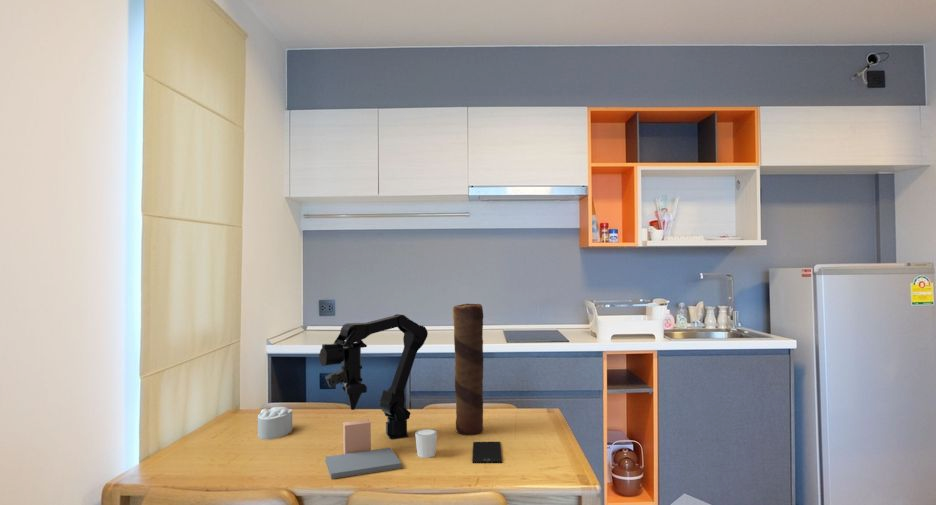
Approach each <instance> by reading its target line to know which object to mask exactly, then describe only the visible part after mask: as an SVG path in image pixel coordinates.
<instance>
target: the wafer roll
mask: <svg viewBox="0 0 936 505" xmlns="http://www.w3.org/2000/svg"><path fill="white" fill-rule="evenodd" d="M452 320H453V337H454V338H453V340H454V341H453V342H454V354H455V355H454V363H455V365H454V392H455V395H454V396H455V406H456V408H455V412H456V413H455V414H456V415H455V416H456V418H455V430H456V432H458V433H459V434H462V435H469V436H470V435H471V436H472V435H477V434H481V433H483V432H484V399H483V398H484V393H483V392H484V389H483V388H484V386H483V385H484V384H483V383H484V382H483V380H484V339H483V335H484V333H483V328H484V310H483V305H482V304H480V303H464V304H457V305H453V308H452Z"/></svg>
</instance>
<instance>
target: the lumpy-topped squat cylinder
mask: <svg viewBox="0 0 936 505" xmlns="http://www.w3.org/2000/svg"><path fill="white" fill-rule="evenodd" d="M292 431H293V409H291V408H288V407H286V406H273V407H271V408H270V409H268V408H263V409H262V410H260V413H259V414H258V415H257V438H258V439H259V440H264V441H266V440H273V439H274V440H275V439H280V438H282V437H285V436H287V435H289V434H290V433H291V432H292ZM289 432H290V433H289ZM288 433H289V434H288Z"/></svg>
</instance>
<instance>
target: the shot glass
mask: <svg viewBox="0 0 936 505" xmlns="http://www.w3.org/2000/svg"><path fill="white" fill-rule="evenodd" d="M414 433H415V434H414V436H415V444H416V454H417V456H418V458H423V459H427V458H432V457H435V456H436V453H437V439H438V438H437V436H438V431H437V430H435V429H430V428H429V429H428V428H425V429H423V428H422V429H419V430H417V431H415V432H414Z"/></svg>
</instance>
